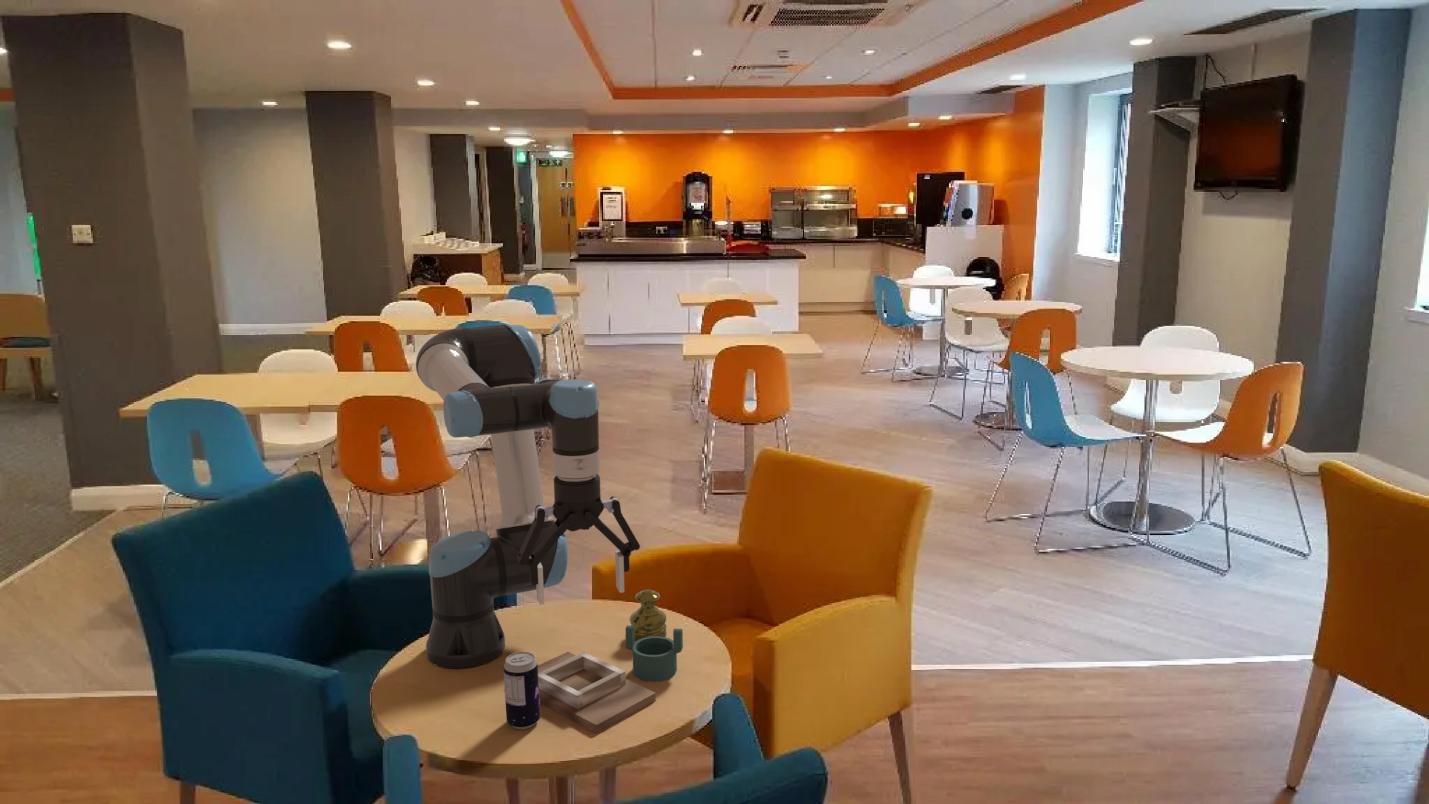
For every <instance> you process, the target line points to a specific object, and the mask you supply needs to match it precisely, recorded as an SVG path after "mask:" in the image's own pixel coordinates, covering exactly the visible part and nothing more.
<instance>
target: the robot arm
mask: <svg viewBox="0 0 1429 804" xmlns="http://www.w3.org/2000/svg"><path fill="white" fill-rule="evenodd" d="M541 364H542V358H541V353H540V349H539V345H538V342H537V340H536V339H535V336H534V334H533V333H532V332H531V330H530V329H529V328H528V327H527V326H525V325H524V324H506V323H505V324H504V323H503V324H498V325H487V326H486V325H485V326H473V327H462V328H460V327H458V328H451V329H447V330H444V331H442V332H440V333H437V334H436V335H434V336H432V337H430V338H429V339H428V340H427V341H426V342H425V343H424V344H423V345H422V346H421V348H420V349H419V351H418V353H417V356H416V361H415V370H416V374H417V376H418V378H419V380H420V382H422V384H424V386H426V388H427V389H429V390H431V391H433V392H436V393H437V394H438V395H439V397H440V398H441V400H443V404H442V406H443V411H442V412H443V418H444V424H445V427H446V431H447V433H448V434H449V436H451V437H452V438H466V437H467V438H476V437H481V436H489V435H490V437H491V438H490V440H491V444H492V451H493V452H492V453H493V459H494V467H495V473H496V481H497V490H498V495H499V503H500V512H501V520H500V521H499V523H498V524H497V526H496V527H495V530H496V537H495V536H494V537H490V535H489V534H488V533H487V532H485V531H483V530H474V531H472V530H465V531H461V532H457V533H454V534H449V535H448V536H445V537H443V538H442V539H440V540H438V542H437V541H436V543H435V544H434V545H433V546H431V549H430V550H429V554H428V558H429V559H428V575H429V576H430V577H429V578H430V579H429V580H430V591H431V593H430V594H431V602H432V603H431V606H432V607H431V608H432V622H431V625H430V628H429V632H428V638H427V639H426V640H427V641H426V645H425V649H426V651H425V652H426V659H427V660H428V661H429V662H430V663H431V664H432V665H435V666H438V667H443V668H447V669H467V668H472V667H478V666H481V665H484V664H486V663H489V662H492V661H493V660H495V659H497V658H498V657H499V656H501V655H502V654H503V653H504V652H505V649H506V638H505V632H504V631H503V628H502V626H501V623H500V621H499V619H498V617H497V614H496V612H495V608H494V607H495V605H494V598H499V597H503V596H508V595H509V596H510V595H515V594H520V593H524V592H530V591H535V590H536V599H537V602H538V603H539V605H545V592H544V591H545V589H546V588H550V587H554V586H557V585H559V584H560V583H561V582H563V579H565V575H566V572H567V569H568V559H569V547H568V546H569V545H568V540H567V538H566V531H569V532H576V531H579V530H581V531H583V530H584V531H588V530H590V528H592V527H593V526H594V527H595V529H597V530H598V531H599V532H600V534H603V536H604V537H606V539H607V540H608V541H610V543H612V545H614V547H616V548H617V549H618V550H615V551H614V553H615V554H614V555H615V587H616V589H617V590H618V592H619V593H620V594H622V593H625V573H626V572H629V571H630V557H631V555H632V552H633V551H639V550H640V548H641V545H640V543H639V541H638V540H637V538H636V536H635V534H634V533H633V531H632V528H631V527H630V526H629V524H628V521H627V520H626V518H625V516H624V515H623V514H622V509H621V503H620V501H619V500H618V498H617V497H616V496H611V497H609V499H606V500H602V498H601V495H602V494H601V476H600V475H599V473H600V471H601V469H600V467H601V466H600V465H601V464H600V437H599V436H600V435H599V430H600V428H599V406H600V402H599V401H600V400H599V397H598V389H597V386H596V384H595V383H594V382H593V381H590V380H584V379H581V378H580V379H579V378H573V379H572V378H571V379H570V378H569V379H562V380H559V379H556V378H553V377H552V378H550V377H546V378H545V377H544V378H541V379H539V378H540V377H541V376H542V375H541V374H542V365H541ZM537 379H539V380H537ZM535 381H536V382H535ZM546 428H549V429H550V430H551V439H552V440H551V441H552V443H551V444H552V446H551V447H552V465H553V466H552V470H553V471H552V472H553V474H554V475H555V476H554V477H553V492H554V493H553V495H554V499H553V500H554V502H553V504H552V506H545V502H544V494H543V493H544V492H543V488H542V487H543V486H542V481H541V480H542V478H541V473H540V465H539V459H538V452H537V450H538V449H537V443H536V439H535V438H536V437H535V430H538V429H539V430H540V429H546ZM604 509H606V510H607V512H608V513H610V514H612V515H613V517H614V519H615V520H616V522H617V524H618V526H619V527H620V529H621V531H622V532H623V534H624V537H625V538H626V539H627V542H626V543H625V542H624V541H623V540H621V538H620V537H619V536H617V534H616V533H614V531H612V529H611V528H609V526H607V525H606V523H604V522H603V521H602V519H601V518H599V517H600V516H601V514H602V513H603V511H604ZM552 516H554V517H552ZM554 518H555V519H556V520H555V519H554Z"/></svg>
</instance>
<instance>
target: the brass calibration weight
mask: <svg viewBox="0 0 1429 804" xmlns="http://www.w3.org/2000/svg"><path fill="white" fill-rule="evenodd" d="M634 597H635V601H637V602H638V603H640V606H639V608H637V609H636V610H634V611H633V612H632V613H631V614H630V616H629V623H630V626H634V637H635V642H636V641H638V640H640V639H642V638H646V637H652V636H660V637H666V638H667V624H666V621H667V614H666V613H665V612H663V610H660V609H659V608H658V607H657V606H656V605H655V603H656V602H658V601H659V599H660V598H661V595H660V592H657V591H655V590H652V589H649V588H648V589H644V590H640V591H639V592H638V593H635V596H634Z"/></svg>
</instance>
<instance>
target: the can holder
mask: <svg viewBox="0 0 1429 804" xmlns="http://www.w3.org/2000/svg"><path fill="white" fill-rule="evenodd" d="M626 677H627V676H626V671H625V670H623V669H621V668H618V667H617V666H614V665H613V664H610V663H608V662H606V661H604V660H601V659H600V658H597V657H595V656H594V655H591V654H589V653H587V652H584V651H583V652H581V653H579V654H577V655H576V654H574V653H572V652H569V651H566V652H564V653H562V654H560V655H558V656H556V657H553V658H552V659H551V658H550V659H549V660H547V661H545V662H543V663H540V664H538V682H539V701H540V704H541V705H543V706H544V707H545V706H546V707H547V708H549V709H551V710H552V711H555V712H556V711H557V713H559V714H560V715H562V716H564V717H566V718H568V719H570V720H571V721H574V722H575V723H577V724H579V725H580V726H582V727H585V728H587V729H588V730H590V731H592V732H593V733H595V734H598V733H599V732H602V731H603V730H605V729H607V728H608V727H610V726H613V725H614V724H616V723H618V722H619V721H622V720H623V719H625V718H627V717H629V716H631V715H632V714H634V713H636V712H638V711H639V710H641V709H643V708H644V707H645V708H646V706H648V705H650V704H652V703H653V702H655V701H656V700H657V698H656V694H657V693H656V692H654V691H652V690H651V689H648V688H646V687H644V686H642V685H640V684H638V683H636V682H633V681H631V680H630V679H627V678H626Z"/></svg>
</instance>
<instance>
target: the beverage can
mask: <svg viewBox="0 0 1429 804" xmlns="http://www.w3.org/2000/svg"><path fill="white" fill-rule="evenodd" d="M538 665H539V664H538V662H537V659H536V656H535V655H534V654H533V653H531V652H528V651H518V652H514V653H511V654H509V655H508V656H506V657H505V663H504V665H503V681H504V682H503V684H504V697H505V698H504V699H505V700H504V701H505V714H506V715H505V716H506V717H505V719H506V723H507V724H508V725H509V726H511V727H512V728H514V729H515V730H516V729H517V730H527V729H530V728H532V727H534V726H535V725H536V724H537V722H538V721H540V719H541V705H540V704H541V703H540V701H539V682H538Z"/></svg>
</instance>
